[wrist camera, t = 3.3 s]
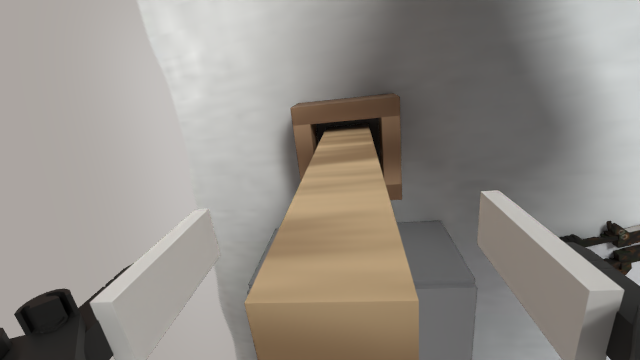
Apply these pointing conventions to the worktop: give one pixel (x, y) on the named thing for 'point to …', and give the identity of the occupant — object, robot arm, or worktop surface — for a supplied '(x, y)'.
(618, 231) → the knife
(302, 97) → the worktop surface
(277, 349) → the light wood square bar
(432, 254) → the box
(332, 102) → the square wooden socket
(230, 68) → the worktop surface
